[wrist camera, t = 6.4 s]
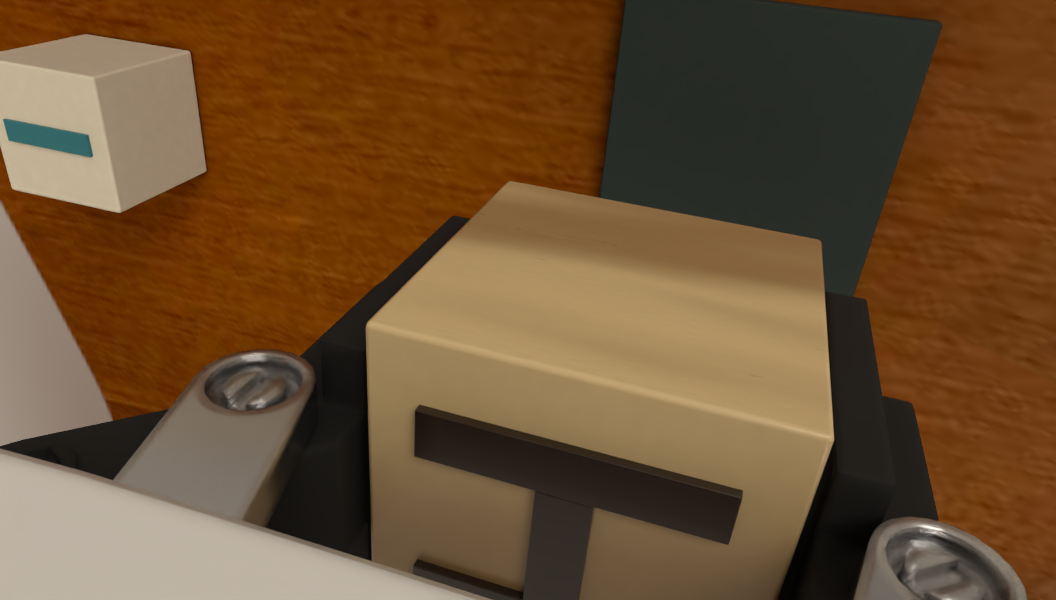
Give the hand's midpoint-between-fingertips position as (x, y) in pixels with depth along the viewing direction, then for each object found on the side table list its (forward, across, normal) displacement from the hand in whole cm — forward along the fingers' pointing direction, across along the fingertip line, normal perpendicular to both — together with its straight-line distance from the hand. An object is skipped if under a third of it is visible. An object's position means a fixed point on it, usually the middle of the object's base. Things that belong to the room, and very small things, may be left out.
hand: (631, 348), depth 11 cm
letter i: (+13, +20, +2) cm, 24 cm away
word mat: (+13, -1, +4) cm, 13 cm away
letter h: (0, 0, 0) cm, 0 cm away
